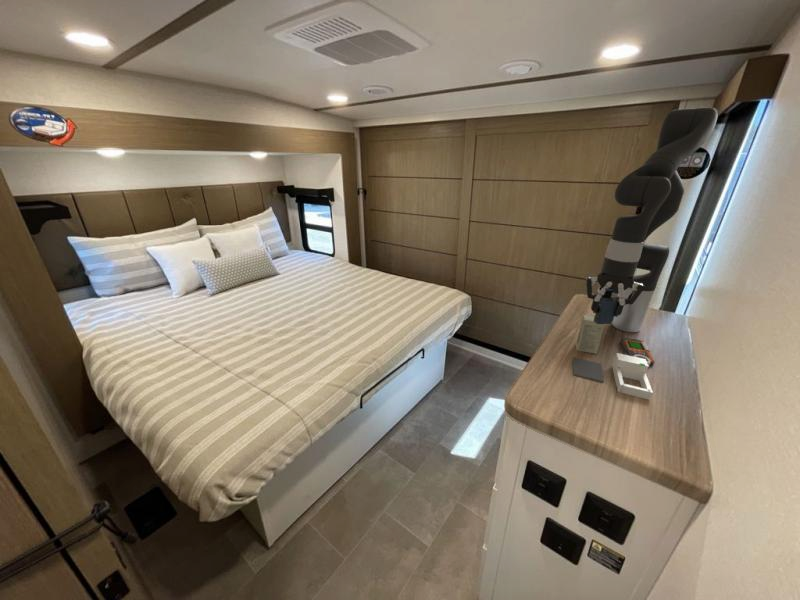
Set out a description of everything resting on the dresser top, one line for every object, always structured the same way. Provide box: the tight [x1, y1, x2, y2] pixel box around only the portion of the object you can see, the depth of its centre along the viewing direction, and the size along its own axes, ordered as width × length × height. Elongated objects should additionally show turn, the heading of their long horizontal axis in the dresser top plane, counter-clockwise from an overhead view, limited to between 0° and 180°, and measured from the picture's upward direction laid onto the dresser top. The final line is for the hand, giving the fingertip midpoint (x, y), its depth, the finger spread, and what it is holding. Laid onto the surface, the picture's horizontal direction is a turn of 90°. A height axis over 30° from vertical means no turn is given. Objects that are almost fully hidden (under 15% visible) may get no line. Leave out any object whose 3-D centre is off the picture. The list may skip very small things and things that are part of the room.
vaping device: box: [594, 285, 619, 325], centre depth 87 cm, size 3×5×12 cm, turn 95°
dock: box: [611, 351, 654, 401], centre depth 94 cm, size 24×8×5 cm, turn 153°
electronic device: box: [620, 336, 655, 368], centre depth 103 cm, size 7×3×15 cm
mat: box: [572, 356, 605, 383], centre depth 96 cm, size 10×8×1 cm
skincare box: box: [575, 314, 606, 355], centre depth 104 cm, size 6×4×12 cm
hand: (604, 313), depth 88 cm, fingers closed on vaping device, 4 cm apart
